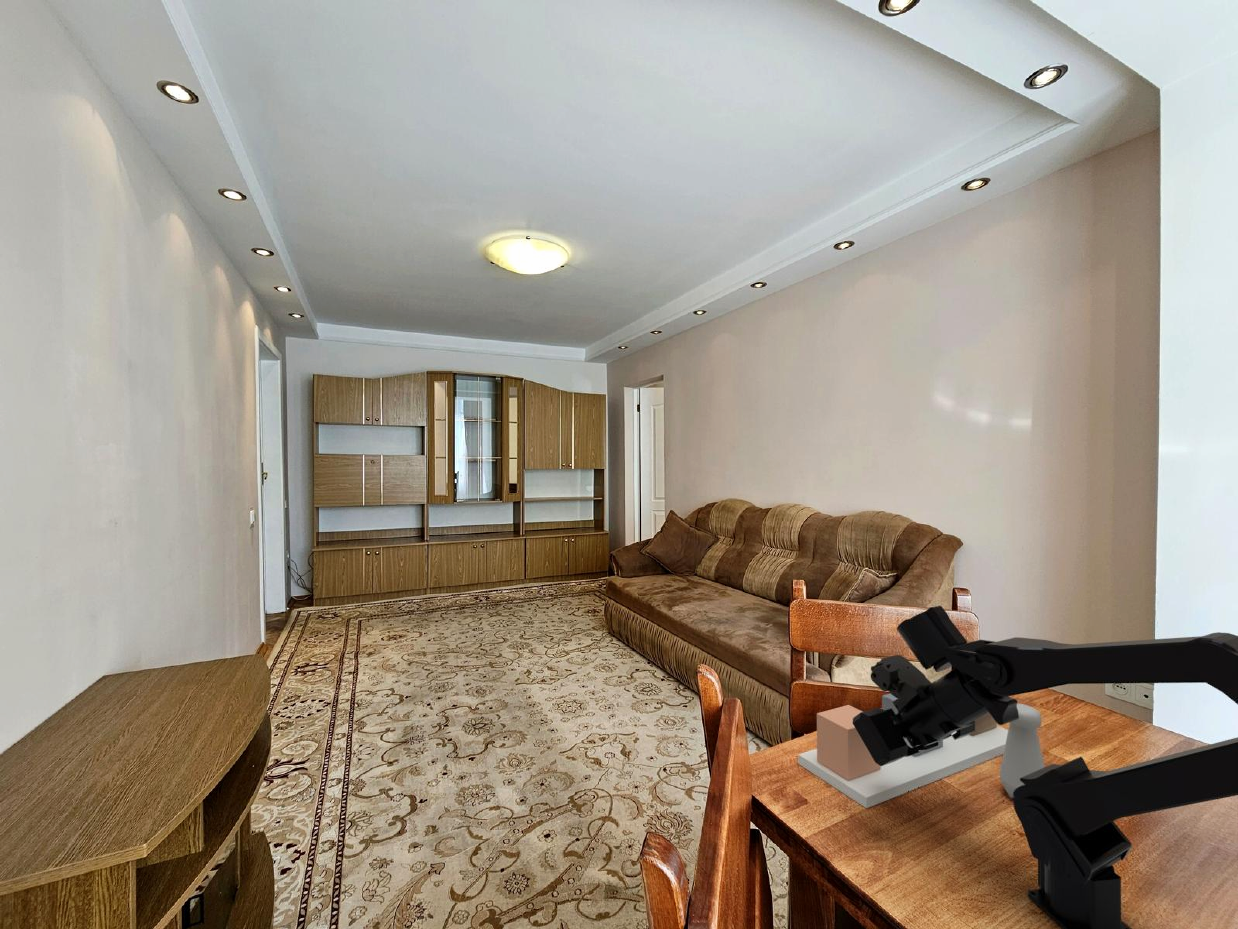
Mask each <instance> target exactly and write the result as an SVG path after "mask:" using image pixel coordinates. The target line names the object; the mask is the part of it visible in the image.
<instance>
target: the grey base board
mask: <svg viewBox="0 0 1238 929" xmlns="http://www.w3.org/2000/svg"><path fill="white" fill-rule="evenodd" d="M1008 730H1009V729H1006V728H1004V727H1002V726H1000V725H997V727H996V728H994V729H991V730H988V731H985V732H982V733H980V734H977V735H974V736H971V735H967V736H965V737H962V738H959V739H956V740H954V738H953V737H952V736H950V737H949V738H947V739H944V740H943V747H941V748H938V749H935V750H932V751H929V752H927V753H924V754H921V755H918V756H913V755H911V756H908V757H903V758H901V759H899V760H897V761H895V762H892V763H889V764H886V765H884V766H881V769H879V770H876V771H874V772H871V773H868V774H865V775H862V776H860V777H857V778H854V779H851V780H846V779H845V778H843V777H842V776H840V775H838V774H837V773H835V772H834V771H832V770H830V769H829V768H827V767H826V766H824V765H822V764H821V763H819V762H818V761H817V748H813V749H812V750H808V751H806V752H801V753H799V754H798V756H797V758H798V759H797V760H798V764H799V765H800V766H801V767H803V768H804V769H806V770H807V771H809V772H811V773H812V774H813V775H815V776H816V777H818V778H819V779H821V780H823V781H824V782H825V783H827V784H828V785H830V786H832V787H833V788H834V789H837V790H838V791H839V792H841V793H842V794H844V795H845V796H846V797H848V798H850V799H851V800H853V801H854V802H856V803H857V804H859V805H861V806H862V807H863V808H865V809H868V808H871V807H873V806H876V805H879V804H882V803H883V802H886V801H888V800H891V799H894V798H897V797H899V796H902V795H904V794H907V793H909V792H911V791H913V790H916V789H918V787H919V788H922V787H924V786H926V785H929V784H931V783H934V782H936V781H939V780H942V779H944V778H946V777H949V776H952V775H955V774H956V773H957V774H958V773H959V772H961V771H964V770H966V769H969V768H971V767H974V766H976V765H980V764H982V763H984V762H987V761H989V760H991V759H994V758H997V757H999V756H1001V755H1002V756H1003V754H1004V749H1005V744H1006V739H1007V734H1008ZM955 733H956V731H955V732H953V733H952V734H951V735H953V734H955ZM908 791H909V792H908Z"/></svg>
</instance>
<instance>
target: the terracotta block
mask: <svg viewBox="0 0 1238 929" xmlns="http://www.w3.org/2000/svg"><path fill="white" fill-rule="evenodd" d="M861 712H863V711H862V710H860V709H858V708H856V707H854V706H851V704H847V705H843V706H840V707H836V708H832V709H829V710H825V711H820V712H817V713H816V749H817V761H818V762H819V763H821V764H822V765H824V766H826V767H827V768H829V769H830V770H832V771H834V772H835V773H837V774H838V775H840V776H842V777H843V778H845V779H846V780H851V779H854V778H857V777H860V776H862V775H865V774H868V773H871V772H874V771H876V770H879V769H881V766H880V765H878V764H877V763H875V761H874V759H873V758H872V756H871V754H870V753H869V751H868V749H867V747H866V746H865V744H864V742H863V740H862V739H861V737H860V735H859V734H858V732H857V730H856V728H855V727H854V725H853V723H852V722H853V718H854V717H855V716H857V715H858V714H859V713H861Z"/></svg>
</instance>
